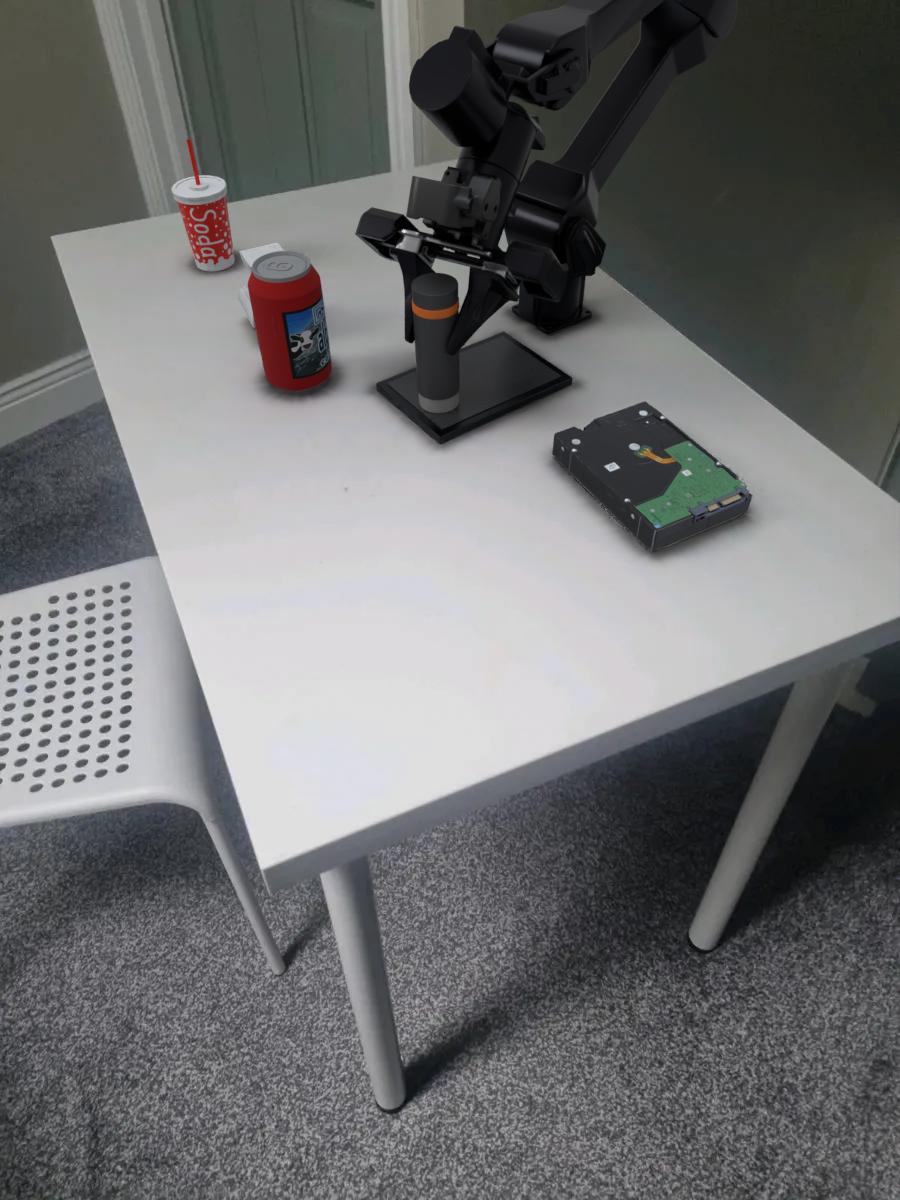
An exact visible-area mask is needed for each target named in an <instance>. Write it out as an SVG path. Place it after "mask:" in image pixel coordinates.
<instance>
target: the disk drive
mask: <svg viewBox="0 0 900 1200" xmlns="http://www.w3.org/2000/svg"><path fill="white" fill-rule="evenodd" d="M552 440H553V442H552V453H551V454H552V456H553V457H555V458H556V461H557V462H558V463H559V464H560V465H561V466H562V467H563V468H564V469H565V470H566V471H567V472H568V473H569V474H570V475H572V477H573V478H575V479H576V480H577V481H578V483H580V485H582V486H583V487H584V489H586V490H587V492H589V493H590V494H591V495H592V496H593V497H594V498H595V499H596V500H597V501H598V502H599V503H601V504H602V505H603V506H604V507H605V509H606V510H607V511H608V512H609V513H610V514H611V515H612V516H613V517H615V519H616V520H617V521H618V522H620V523H621V525H623V526H624V527H625V528H626V529H627V531H629V532H630V534H631V535H633V537H635V538H636V539H637V540H638V541H639V542H640V543H641V544H642V545H644V547H646V548H648V549H649V551H650V552H656V551H657V550H659V549H663V548H667V547H669V546H672V545H674V544H677V543H678V542H679V543H680V542H681V541H683V540H685V539H688V538H691V537H692V536H695V535H698V534H700V533H702V532H704V531H707V530H709V529H711V528H714V527H717V526H719V525H721V524H724V523H725V522H728V521H730V520H732V519H735V518H737V517H739V516H741V515H742V514H744V513H747V512H748V511H749V507H750V505H751V503H752V498H753V494H752V493H751V492H750V490H749V489H747V488H748V485H747V484H746V483H744V482H743V481H742V480H741V479H740V476H738V474H736V473H735V472H734V471H732V469H730V468H729V467H727V465H726V466H725V464H723V463H722V462H720V461H719V460H718V458H716V457H715V456H714V455H713V454H712V453H710V452H709V451H708V450H707V449H705V448H704V447H702V445H700V443H698V442H697V441H696V440H694V439H693V438H691V437H690V436H689V435H688V434H687V433H686V432H685V431H683V430H682V429H681V428H680V427H678V426H677V425H676V424H675V423H674V422H672V421H671V420H670V419H669V418H667V417H666V416H665V415H664V414H663V413H662V412H661V411H660V410H658V409H657V408H656V407H654V406H652V405H651V404H649V402H647V401H641V402H639V403H635V404H633V405H630V406H628V407H626V408H623V409H620V410H616V411H614V412H611V413H607V414H605V415H602V416H598V417H596V418H594V419H593V420H592V421H590V423H588V424H587V425H586V426H584V427H583V428H582V429H581V428H578V427H576V426H571V427H569V428H565V429H563V430H560V431H558V432H555V433H554V434H553V439H552Z"/></svg>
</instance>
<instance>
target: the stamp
mask: <svg viewBox="0 0 900 1200" xmlns="http://www.w3.org/2000/svg"><path fill="white" fill-rule="evenodd" d="M276 251H285V250H284V249H283V247H282V246H281V245H280V244H279V243H278V242H274V243H269V244H265V245H260V246H256V247H252V248H247V249H244V250H243V249H242V250H239V255H240V258H241V262H242V264H243V265H244V266H245V268H246V269H247V270H248V272H249V273H250V274H251V272H252V264H253V262H254V261H255V260H256V259H257V258H259V257H261V256H263V255H265V254H268V253H271V252H276ZM237 300H238V302H239V304H240V306H241V307H242V310H243V311H244V313H245V316H246V317H247V319H248V321H249V322H250V325H251V327H252V328H253V329H254V330H255V331H256V328H255V323H254V317H253V312H252V307H251V302H250V296H249V291H248V286H244V287H241V288H239V289H238V292H237Z"/></svg>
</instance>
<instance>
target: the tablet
mask: <svg viewBox="0 0 900 1200" xmlns="http://www.w3.org/2000/svg"><path fill="white" fill-rule="evenodd" d="M459 368H460V389H459V403H458V405H457V407H456V408H454V409H453V410H451V411H449V412H445V413H432V412H428V411H426V410H424V409H423V408H422V407H421V406H420V404H419V392H418V389H417V373H416V366H415V367H412V368H410V369H407V370H405V371H403V372H400V373H398V374H395V375H393V376H390V377H388V378H386V379H382V380H380V381H378V382H376V383H375V388H376V389H375V390H376V391H377V392H378V393H380V394H381V396H383V397H384V398H385V399H387V400H388V401H389V402H390V403H391V404H392V405H393V406H395V407H396V408H397V409H398V410H400V412H402V413H403V414H404V415H406V417H408V419H410V420H411V421H412V422H414V423H415V424H416V425H417V426H418V427H419V428H421V430H423V431H424V432H426V434H428V435H429V436H430V437H431V438H433V439H434V441H436V442H437V443H438V444H440V445H441V444H444V443H446V442H448V441H450V440H453V439H455V438H457V437H460V436H461V435H464V434H466V433H468V432H470V431H473V430H475V429H476V428H477V429H478V428H479V427H481V426H483V425H486V424H488V423H490V422H492V421H495V420H497V419H500V418H501V417H503V416H505V415H508V414H510V413H512V412H515V411H516V410H519V409H521V408H523V407H525V406H528V405H529V404H533V403H534V402H536V401H538V400H541V399H543V398H545V397H547V396H549V395H552V394H554V393H556V392H559V391H561V390H563V389H565V388H567V387H569V386H572V385H573V377H572V376H571V375H569V374H568V373H566V372H565V371H563V369H560V368H559V367H558V366H556V365H554V364H553V363H552V362H550V361H549V360H548V359H546V358H544V357H542V356H541V354H538V353H537V352H535V351H534V350H532V348H529V346H527V345H525V344H524V343H522V342H520V341H519V340H518V339H516V338H515V337H513V336H512V335H511V334H509V333H508V332H506V331H504V330H503V331H501V332H498V333H496V334H493V335H491V336H489V337H486V338H483V339H482V340H479V341H476V342H473V343H471V344H469V345H466V346H465V347H462V348H461V349H460V350H459Z"/></svg>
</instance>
